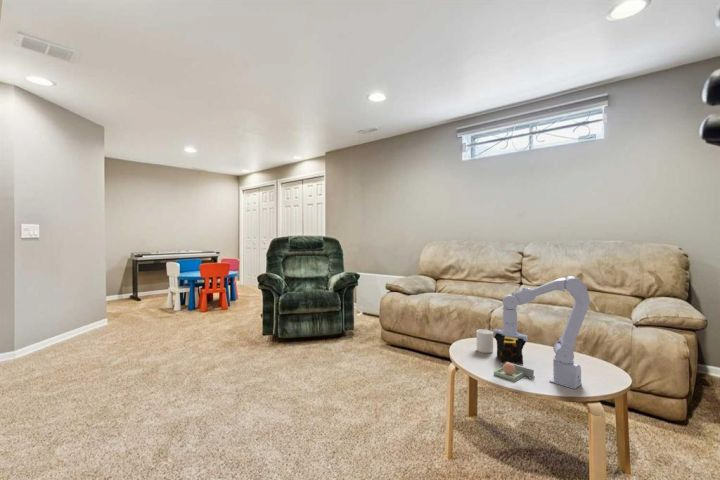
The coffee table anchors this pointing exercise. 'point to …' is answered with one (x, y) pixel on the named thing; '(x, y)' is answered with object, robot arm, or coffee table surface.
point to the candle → (509, 352)
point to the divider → (524, 370)
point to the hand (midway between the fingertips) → (510, 353)
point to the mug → (485, 341)
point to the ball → (509, 368)
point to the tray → (512, 377)
